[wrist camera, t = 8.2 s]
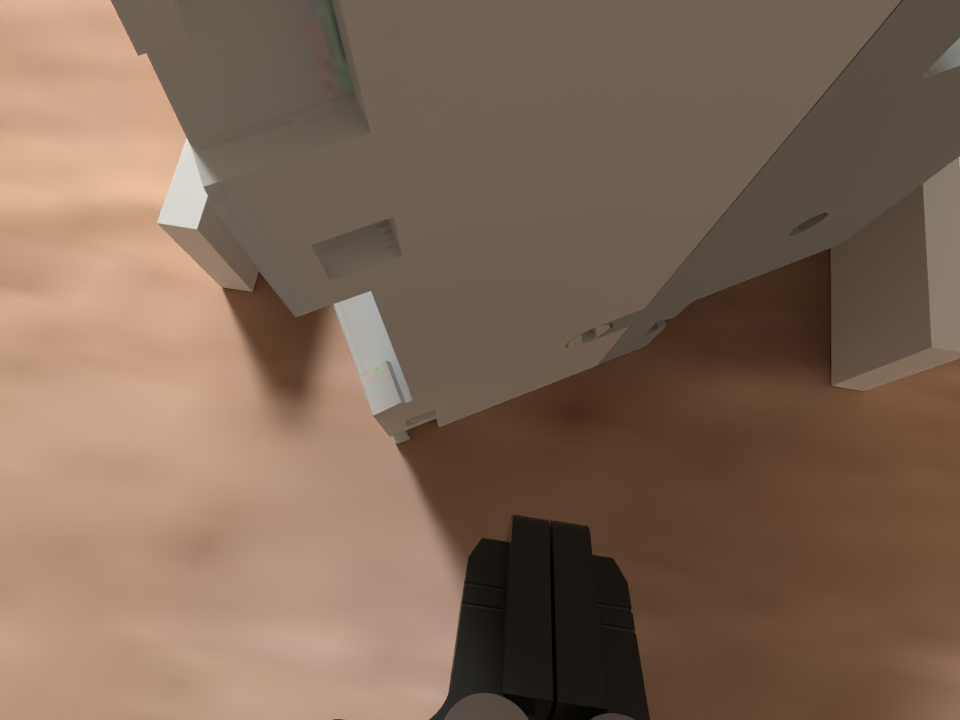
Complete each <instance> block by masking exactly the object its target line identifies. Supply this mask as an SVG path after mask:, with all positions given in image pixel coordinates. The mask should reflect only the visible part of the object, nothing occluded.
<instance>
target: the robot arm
mask: <svg viewBox="0 0 960 720" xmlns="http://www.w3.org/2000/svg"><path fill="white" fill-rule="evenodd" d="M634 631H635V626H634V620H633V614H632V612H631V601H630V595H629V589H628V583H627V581H626V579H625V577H624V576H623V574H622V572H621V571H620V569H619V567H618V566H617V564H616V563H615V561H614V559H613V558H608V557H602V556H595V555H592V548H591V539H590V531H589V528H588V526H583V525H577V524H570V523H564V522H557V521H550V523H549V521H548V520H543V519H537V518H531V517H524V516H518V515H511V519H510V523H509V528H508V534H507V539H506V542H504V541H498V540H492V539H485V538H482V539H481V540H480V542H479V543H478V545H477V546H476V547H475V549H474V550H473V552H472V553H471V554H470V556H469V557H468V563H467V570H466V576H465V582H464V589H463V595H462V601H461V607H460V614H459V621H458V629H457V636H456V643H455V650H454V658H453V665H452V672H451V679H450V686H449V694H448V696H447V699H446V700H445V702H444V704H443V706H442V707H441V708H440V710H439V711H438V712H437V713H436V714H435V715H434V716H433V717H432V718H431V719H430V720H650V717H649V712H648V706H647V700H646V694H645V687H644V681H643V675H642V669H641V663H640V657H639V651H638V644H637V638H636V634H635V632H634ZM335 720H341V719H335Z"/></svg>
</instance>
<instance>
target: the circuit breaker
mask: <svg viewBox="0 0 960 720" xmlns="http://www.w3.org/2000/svg"><path fill="white" fill-rule="evenodd" d="M111 2H112V4H113V6H114V8H115V10H116V12H117V14H118V16H119V18H120V20H121V22H122V24H123V26H124V28H125V30H126V32H127V34H128V36H129V38H130V40H131V42H132V44H133V46H134V48H135V50H136V52H137V54H138V56H139V55H142V54H145V53H147V55H148V57H149V59H150V61H151V63H152V66H153V68H154V70H155V72H156V74H157V76H158V78H159V80H160V82H161V84H162V87H163V89H164V91H165V93H166V95H167V97H168V99H169V101H170V103H171V105H172V108H173V110H174V112H175V114H176V116H177V118H178V120H179V122H180V124H181V126H182V128H183V131H184V133H185V135H186V137H187V139H188V141H189V143H190V146H191V149H192V152H193V156H194V159H195V162H196V165H197V168H198V171H199V175H200V178H201V181H202V184H203V187H204V189H205V191H206V193H207V195H208V197H209V199H210V201H211V203H212V205H213V207H214V209H215V211H216V213H217V215H218V217H219V219H220V221H221V223H222V225H223V227H224V228H225V230H226V231H227V232H228V233H229V235H230V236H231V237H232V238H233V240H234V241H235V242H236V243H237V245H238V246H239V247H240V248H241V250H242V251H243V252H244V253H245V255H246V256H247V257H248V259H249V260H250V261H251V262H252V264H253V265H254V266H255V267H256V269H257V270H258V271H259V272H260V274H261V275H262V276H263V277H264V279H265V280H266V281H267V282H268V284H269V285H270V286H271V288H272V289H273V290H274V291H275V293H276V294H277V295H278V296H279V298H280V299H281V300H282V301H283V303H284V304H285V305H286V306H287V308H288V309H289V310H290V311H291V313H292V314H293V315H294V317H295V318H296V317H299V316H302V315H304V314H307V313H310V312H313V311H316V310H318V309H321V308H324V307H327V306H330V305H334V308H335V311H336V313H337V316H338V319H339V322H340V325H341V327H342V330H343V333H344V336H345V339H346V341H347V344H348V347H349V350H350V352H351V355H352V358H353V361H354V364H355V366H356V369H357V372H358V375H359V378H360V380H361V383H362V386H363V389H364V391H365V394H366V397H367V400H368V403H369V405H370V408H371V411H372V414H373V416H374V417H375V419H376V420H377V421H378V422H379V424H380V425H381V426H382V427H383V429H384V430H385V431H386V432H387V434H388V435H389V436H392V437H393V440H394V442H395V444H399V443H401V442H404V441H406V440H409V439H410V437H409V435H408V432H407V430H408V429H411V428H413V427H416V426H418V425H421V424H423V423H426V422H428V421H431V420H434V419H436V421H437V424H438V427H442V426H445V425H447V424H450V423H452V422H455V421H457V420H460V419H462V418H465V417H467V416H470V415H473V414H475V413H478V412H480V411H483V410H485V409H488V408H490V407H493V406H496V405H498V404H501V403H503V402H506V401H508V400H511V399H513V398H516V397H518V396H521V395H524V394H526V393H529V392H531V391H534V390H536V389H539V388H541V387H544V386H547V385H549V384H552V383H554V382H557V381H559V380H562V379H564V378H567V377H570V376H572V375H575V374H577V373H580V372H582V371H585V370H587V369H590V368H592V367H595V366H597V365H600V364H603V363H605V362H608V361H610V360H613V359H615V358H618V357H620V356H623V355H626V354H628V353H631V352H633V351H636V350H638V349H641V348H643V347H645V346H647V345H648V344H649V343H650V342H651V341H652V340H653V339H654V338H655V337H656V336H657V335H658V334H659V333H660V332H661V331H662V330H663V329H664V328H665V327H666V326H667V325H666V323H665V321H664V320H667V319H672V318H676V317H677V316H678V315H679V314H680V313H681V312H682V311H683V310H684V309H685V308H686V307H687V306H688V305H689V304H690V303H692V302H693V301H695V300H698V299H700V298H703V297H705V296H708V295H711V294H713V293H716V292H718V291H721V290H724V289H726V288H729V287H731V286H734V285H737V284H739V283H742V282H744V281H747V280H749V279H752V278H755V277H757V276H760V275H762V274H765V273H768V272H770V271H773V270H775V269H778V268H780V267H783V266H786V265H788V264H791V263H793V262H796V261H799V260H801V259H804V258H806V257H809V256H811V255H814V254H817V253H819V252H822V251H824V250H827V249H830V248H832V247H835V246H837V245H840V244H842V243H843V242H845V241H847V240H848V239H849V238H851V237H852V236H853V235H855V234H856V233H857V232H859V231H860V230H861V229H863V228H864V227H865V226H867V225H868V224H869V223H871V222H872V221H874V220H875V219H876V218H878V217H879V216H880V215H882V214H883V213H884V212H886V211H887V210H888V209H890V208H891V207H892V206H894V205H895V204H896V203H898V202H899V201H900V200H902V199H903V198H904V197H906V196H907V195H908V194H910V193H911V192H912V191H914V190H915V189H916V188H918V187H919V186H920V185H922V184H923V183H924V182H926V181H927V180H928V179H930V178H931V177H932V176H934V175H935V174H937V173H938V172H939V171H941V170H942V169H943V168H945V167H946V166H947V164H949V163H951V162H953V161H954V160H955V159H957V158H958V157H959V156H960V0H111Z"/></svg>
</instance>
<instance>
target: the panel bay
mask: <svg viewBox="0 0 960 720" xmlns="http://www.w3.org/2000/svg"><path fill="white" fill-rule="evenodd" d="M157 224H159V225H160V226H161V227H162V228H163V229H164V230H165V231H166V232H167V233H168V234H169V235H170V236H171V237H172V238H173V239H174V240H175V241H176V242H177V243H178V244H179V245H180V246H181V247H182V248H183V249H184V250H185V251H186V252H187V253H188V254H189V255H190V256H191V257H192V258H193V259H194V260H195V261H196V262H197V263H198V264H199V265H200V266H201V267H202V268H203V269H204V270H205V271H206V272H207V273H208V274H209V275H210V276H211V277H212V278H213V279H214V280H215V281H216V282H217V283H218V284H219V285H220V286H221V287H224V288H230V289H237V290H243V291H249V292H253V290H254V286H255V283H256V279H257V276H258V272H259V271H258V270H257V269H256V267H255V266H254V265H253V264H252V262H251V261H250V260H249V259H248V257H247V256H246V255H245V253H244V252H243V251H242V250H241V248H240V247H239V246H238V245H237V243H236V242H235V241H234V240H233V238H232V237H231V236H230V235H229V233H228V232H227V231H226V230H225V228H224V227H223V225H222V223H221V221H220V219H219V217H218V215H217V213H216V211H215V209H214V207H213V205H212V203H211V201H210V199H209V197H208V195H207V193H206V191H205V189H204V187H203V184H202V181H201V178H200V175H199V171H198V168H197V165H196V162H195V159H194V156H193V152H192V149H191V146H190V143H189V141H188V139H186V141H185V144H184V147H183V150H182V153H181V156H180V159H179V161H178V164H177V167H176V170H175V173H174V176H173V179H172V181H171V184H170V187H169V190H168V193H167V196H166V199H165V201H164V204H163V207H162V210H161V213H160V216H159V219H158V222H157ZM957 359H960V166H959V157H958V158H957V159H955V160H954V161H953V162H951V163H949V164H947V166H946V167H945V168H943V169H942V170H941V171H939V172H938V173H937V174H935V175H934V176H932V177H931V178H930V179H928V180H927V181H926V182H924V183H923V184H922V185H920V186H919V187H918V188H916V189H915V190H914V191H912V192H911V193H910V194H908V195H907V196H906V197H904V198H903V199H902V200H900V201H899V202H898V203H896V204H895V205H894V206H892V207H891V208H890V209H888V210H887V211H886V212H884V213H883V214H882V215H880V216H879V217H878V218H876V219H875V220H874V221H872V222H871V223H869V224H868V225H867V226H865V227H864V228H863V229H861V230H860V231H859V232H857V233H856V234H855V235H853V236H852V237H851V238H849V239H848V240H847V241H845V242H843V243H842V244H840V245H837V246H835V247H832V248H831V386H835V387H842V388H848V389H854V390H860V391H866V390H869V389H872V388H875V387H878V386H881V385H884V384H887V383H890V382H893V381H895V380H898V379H901V378H904V377H907V376H910V375H913V374H916V373H919V372H922V371H925V370H928V369H931V368H934V367H937V366H940V365H943V364H946V363H949V362H951V361H954V360H957Z"/></svg>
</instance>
